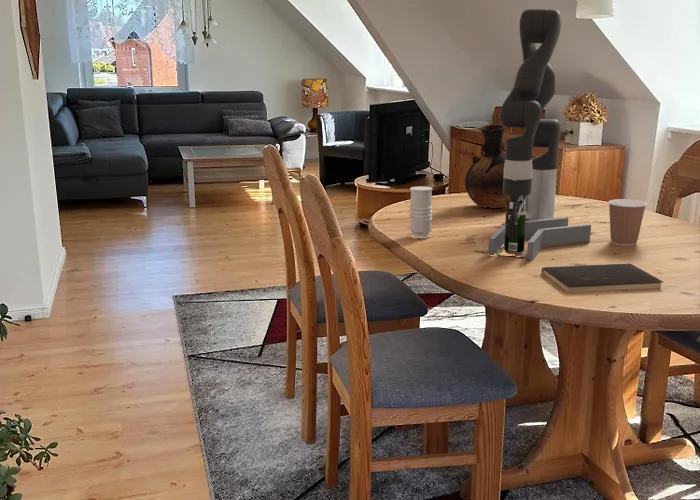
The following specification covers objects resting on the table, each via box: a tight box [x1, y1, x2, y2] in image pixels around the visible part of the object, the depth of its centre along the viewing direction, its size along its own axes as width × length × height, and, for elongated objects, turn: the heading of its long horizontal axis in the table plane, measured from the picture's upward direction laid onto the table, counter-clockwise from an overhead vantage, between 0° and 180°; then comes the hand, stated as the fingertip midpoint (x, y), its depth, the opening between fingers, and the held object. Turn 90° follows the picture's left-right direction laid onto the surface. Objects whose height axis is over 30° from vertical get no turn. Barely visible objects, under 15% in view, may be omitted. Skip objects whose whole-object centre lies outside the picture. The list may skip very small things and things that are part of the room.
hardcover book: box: [541, 262, 664, 293], centre depth 171 cm, size 16×23×2 cm
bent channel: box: [487, 216, 592, 261], centre depth 202 cm, size 23×36×5 cm, turn 111°
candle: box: [408, 185, 433, 237], centre depth 214 cm, size 7×7×15 cm
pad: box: [512, 249, 527, 258], centre depth 196 cm, size 7×7×1 cm
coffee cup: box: [608, 198, 647, 247], centre depth 205 cm, size 10×10×12 cm
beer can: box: [503, 209, 527, 255], centre depth 194 cm, size 5×5×12 cm
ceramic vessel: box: [464, 123, 510, 209], centre depth 255 cm, size 21×18×30 cm
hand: (514, 234), depth 194 cm, fingers open, 8 cm apart
